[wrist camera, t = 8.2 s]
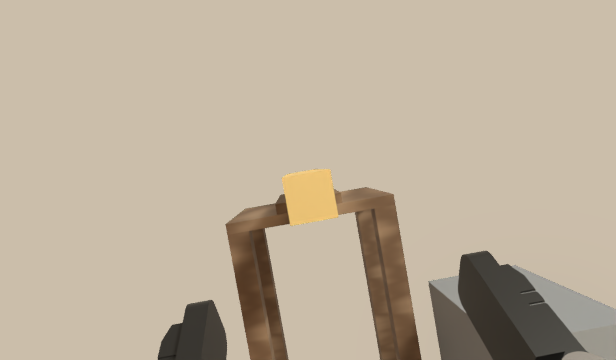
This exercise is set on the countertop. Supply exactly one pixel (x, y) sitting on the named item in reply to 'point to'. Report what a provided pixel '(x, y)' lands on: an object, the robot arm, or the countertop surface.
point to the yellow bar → (309, 196)
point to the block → (564, 302)
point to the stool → (377, 261)
